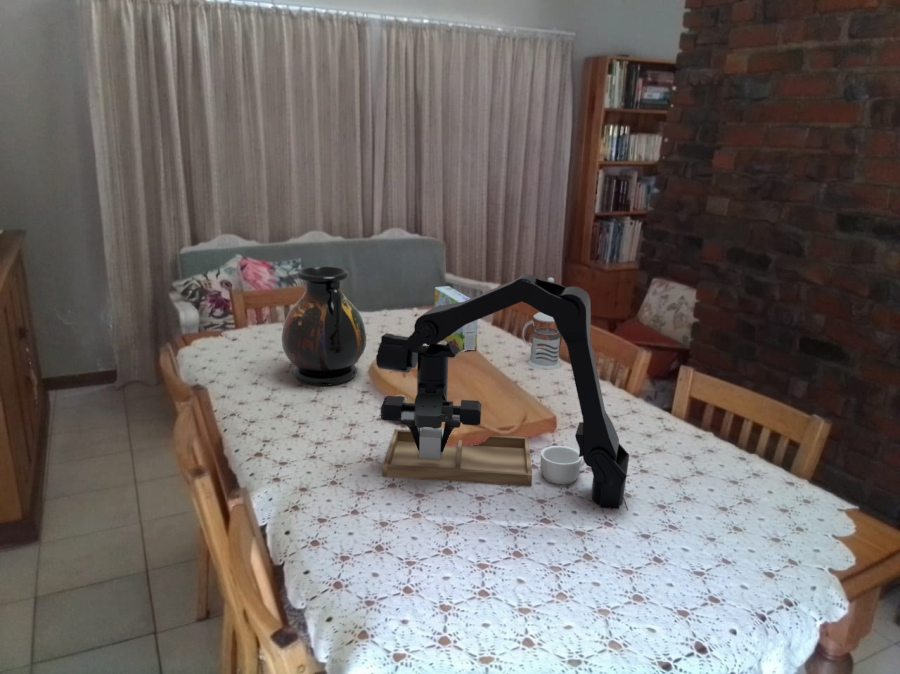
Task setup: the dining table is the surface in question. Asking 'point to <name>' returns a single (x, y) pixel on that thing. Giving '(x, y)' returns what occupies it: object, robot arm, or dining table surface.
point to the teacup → (560, 464)
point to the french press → (542, 357)
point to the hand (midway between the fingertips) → (430, 450)
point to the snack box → (466, 334)
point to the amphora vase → (323, 330)
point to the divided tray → (462, 461)
